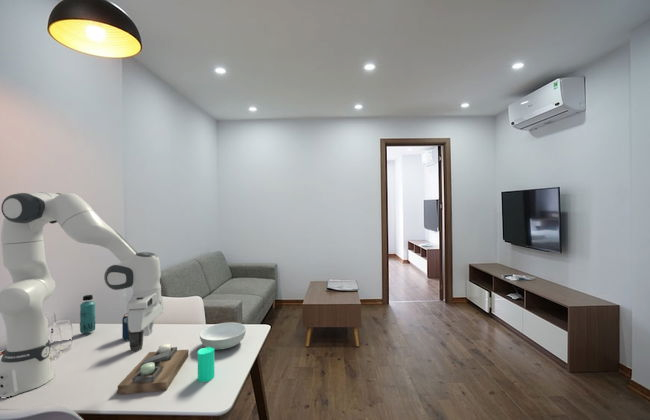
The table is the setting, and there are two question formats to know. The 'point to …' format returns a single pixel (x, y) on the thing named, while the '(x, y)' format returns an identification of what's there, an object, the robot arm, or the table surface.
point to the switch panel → (154, 374)
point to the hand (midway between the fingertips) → (148, 334)
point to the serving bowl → (222, 335)
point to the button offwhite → (164, 348)
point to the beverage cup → (135, 340)
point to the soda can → (125, 327)
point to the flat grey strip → (157, 358)
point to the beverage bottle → (87, 315)
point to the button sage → (147, 368)
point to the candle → (205, 364)
